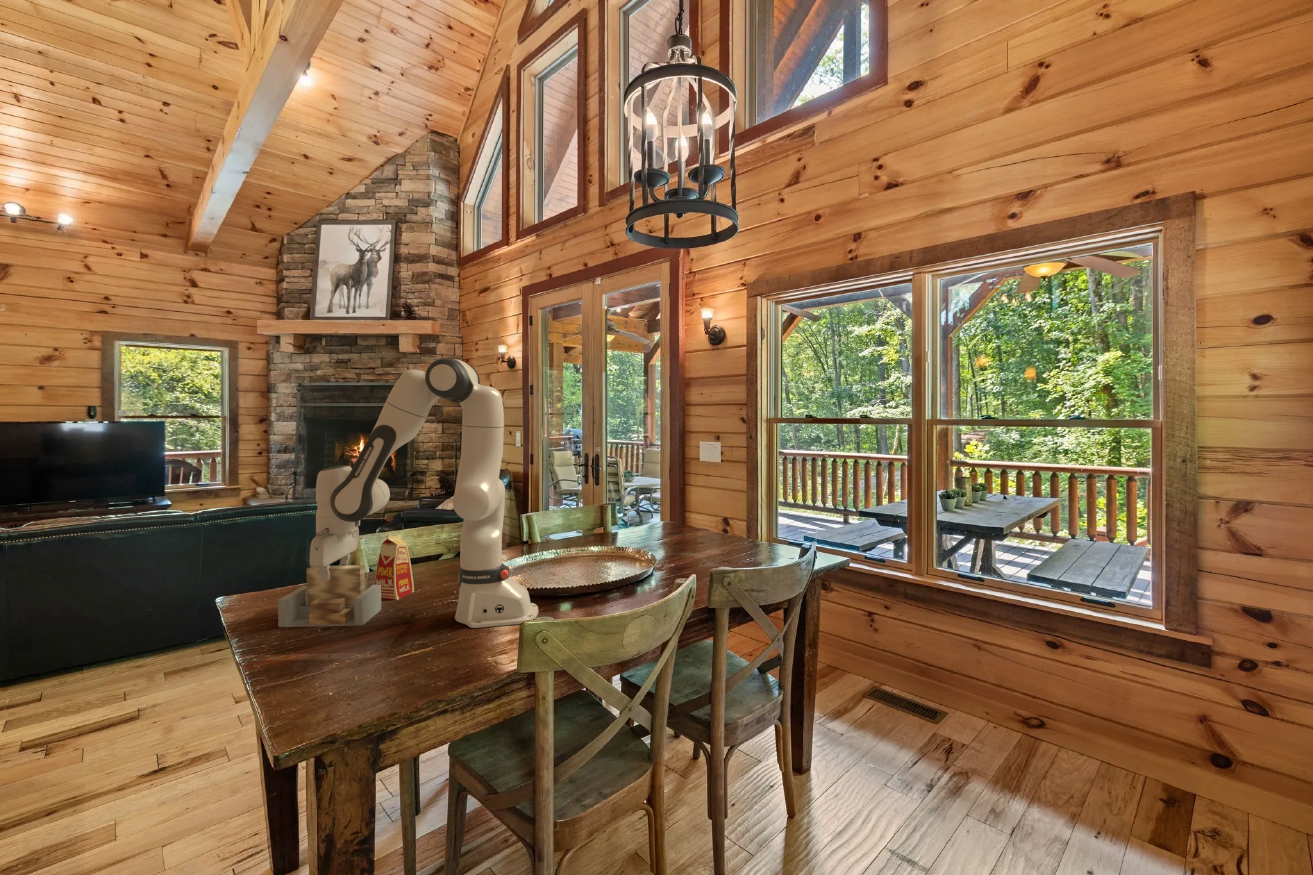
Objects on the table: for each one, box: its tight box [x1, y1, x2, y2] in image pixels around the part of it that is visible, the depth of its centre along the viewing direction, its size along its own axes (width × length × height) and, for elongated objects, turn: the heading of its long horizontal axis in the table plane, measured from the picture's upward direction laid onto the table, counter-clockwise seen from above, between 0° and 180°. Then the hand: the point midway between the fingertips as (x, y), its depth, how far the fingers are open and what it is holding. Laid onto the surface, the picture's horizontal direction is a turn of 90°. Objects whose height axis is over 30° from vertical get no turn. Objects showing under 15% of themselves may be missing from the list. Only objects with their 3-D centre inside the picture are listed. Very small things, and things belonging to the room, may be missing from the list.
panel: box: [306, 564, 366, 606], centre depth 158 cm, size 14×3×13 cm, turn 94°
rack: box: [277, 584, 382, 628], centre depth 155 cm, size 21×12×8 cm, turn 94°
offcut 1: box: [311, 598, 345, 614], centre depth 152 cm, size 7×3×3 cm, turn 98°
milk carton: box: [373, 534, 415, 601], centre depth 175 cm, size 9×9×20 cm
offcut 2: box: [309, 609, 351, 625], centre depth 153 cm, size 9×4×3 cm, turn 94°
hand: (335, 575), depth 158 cm, fingers open, 8 cm apart
